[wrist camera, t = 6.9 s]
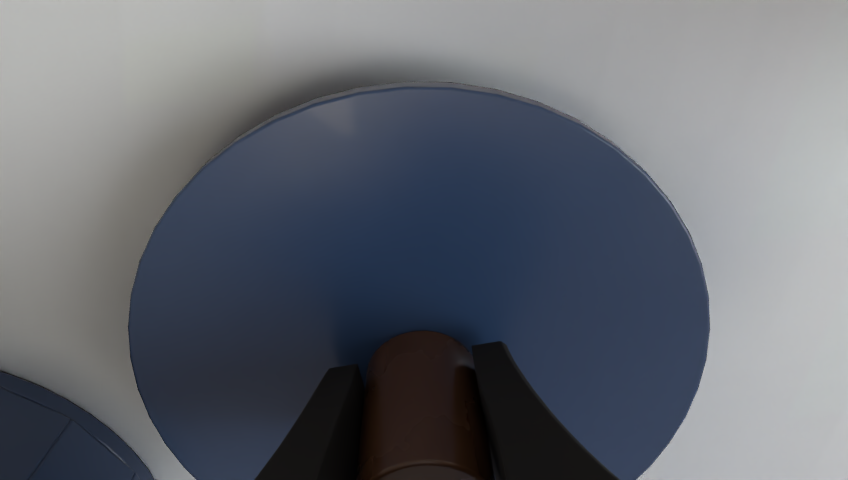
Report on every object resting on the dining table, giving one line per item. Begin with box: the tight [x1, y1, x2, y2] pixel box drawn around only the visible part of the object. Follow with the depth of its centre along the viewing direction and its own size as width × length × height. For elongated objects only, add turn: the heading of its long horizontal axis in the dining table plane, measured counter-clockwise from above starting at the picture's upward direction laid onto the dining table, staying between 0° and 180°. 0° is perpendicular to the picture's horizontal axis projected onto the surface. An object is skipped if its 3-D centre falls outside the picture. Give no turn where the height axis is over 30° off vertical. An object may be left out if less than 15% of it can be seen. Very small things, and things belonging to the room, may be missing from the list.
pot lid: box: [128, 82, 710, 480], centre depth 12 cm, size 12×12×5 cm
